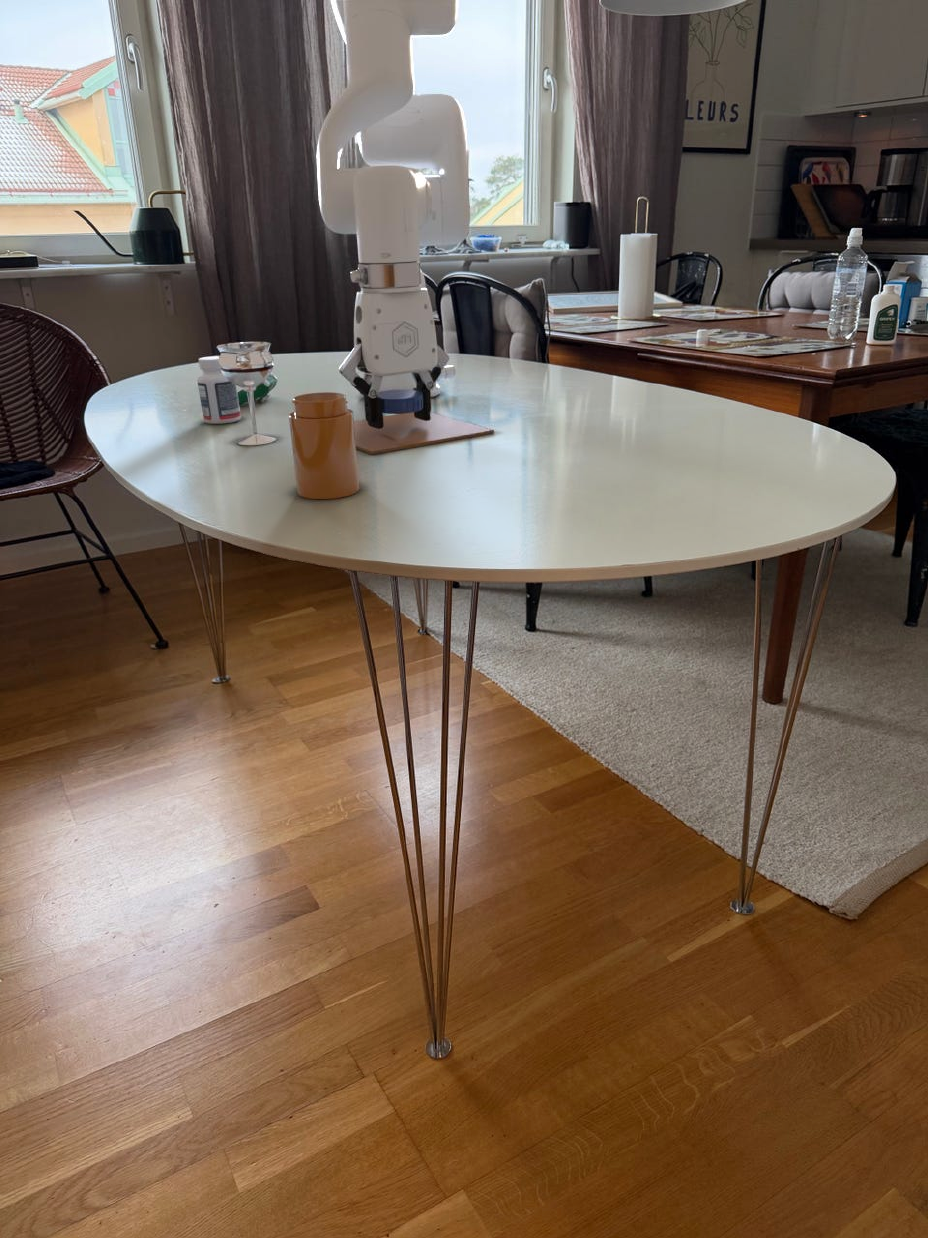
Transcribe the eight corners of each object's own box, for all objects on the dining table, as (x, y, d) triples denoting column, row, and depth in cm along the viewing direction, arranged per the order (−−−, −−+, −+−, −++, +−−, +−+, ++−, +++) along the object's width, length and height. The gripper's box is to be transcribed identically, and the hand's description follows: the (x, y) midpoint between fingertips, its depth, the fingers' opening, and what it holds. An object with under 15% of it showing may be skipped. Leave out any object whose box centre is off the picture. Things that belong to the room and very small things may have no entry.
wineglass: (264, 432, 116) (252, 340, 111) (293, 439, 112) (282, 343, 107) (220, 441, 112) (205, 346, 107) (247, 449, 107) (234, 349, 102)
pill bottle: (246, 417, 126) (237, 354, 123) (234, 424, 122) (225, 359, 118) (211, 417, 127) (202, 355, 123) (198, 424, 122) (188, 360, 119)
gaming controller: (248, 417, 135) (271, 389, 133) (228, 400, 134) (252, 372, 132) (261, 406, 143) (283, 380, 142) (243, 390, 142) (265, 363, 140)
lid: (388, 416, 109) (387, 401, 108) (364, 408, 114) (363, 393, 113) (433, 409, 112) (432, 394, 111) (407, 401, 117) (406, 387, 116)
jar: (342, 479, 93) (334, 388, 89) (370, 491, 88) (363, 396, 84) (287, 489, 90) (276, 396, 86) (313, 503, 85) (302, 405, 81)
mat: (422, 412, 125) (422, 410, 125) (494, 432, 111) (494, 429, 111) (309, 430, 116) (309, 427, 116) (372, 454, 103) (371, 451, 102)
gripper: (340, 284, 99) (354, 438, 107) (465, 275, 107) (469, 418, 115) (313, 281, 105) (328, 427, 112) (433, 273, 113) (439, 409, 121)
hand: (399, 421), depth 114 cm, fingers closed on lid, 6 cm apart
